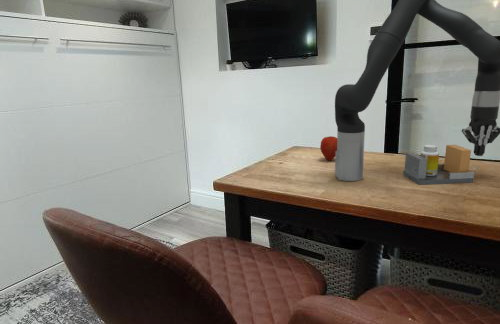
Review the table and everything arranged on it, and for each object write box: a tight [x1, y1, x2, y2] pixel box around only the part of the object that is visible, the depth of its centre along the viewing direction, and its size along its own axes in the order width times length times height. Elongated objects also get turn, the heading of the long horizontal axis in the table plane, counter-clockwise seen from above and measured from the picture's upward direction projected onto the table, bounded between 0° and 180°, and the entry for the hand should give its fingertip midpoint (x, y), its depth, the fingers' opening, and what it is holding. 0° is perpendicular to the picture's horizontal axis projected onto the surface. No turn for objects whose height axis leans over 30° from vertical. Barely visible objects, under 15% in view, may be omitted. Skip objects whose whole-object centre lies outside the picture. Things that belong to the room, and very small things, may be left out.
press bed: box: [402, 151, 475, 186], centre depth 117 cm, size 18×12×8 cm, turn 90°
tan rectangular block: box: [443, 144, 472, 173], centre depth 116 cm, size 3×9×9 cm, turn 0°
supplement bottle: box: [420, 144, 440, 176], centre depth 116 cm, size 6×6×10 cm
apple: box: [319, 136, 337, 161], centre depth 147 cm, size 9×8×11 cm
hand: (478, 155), depth 116 cm, fingers closed
